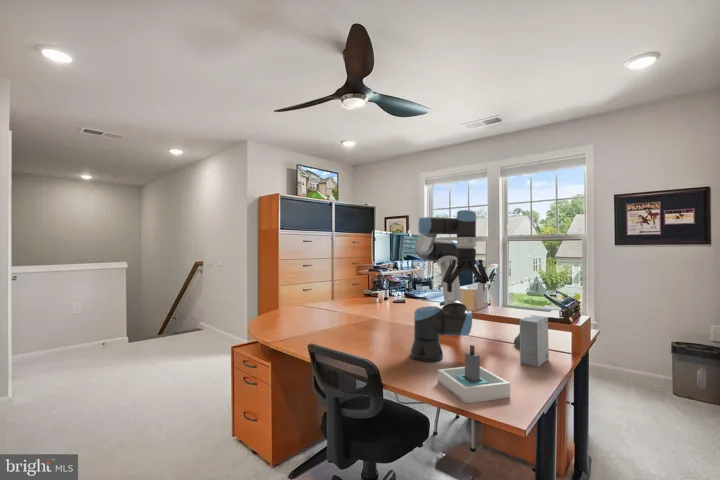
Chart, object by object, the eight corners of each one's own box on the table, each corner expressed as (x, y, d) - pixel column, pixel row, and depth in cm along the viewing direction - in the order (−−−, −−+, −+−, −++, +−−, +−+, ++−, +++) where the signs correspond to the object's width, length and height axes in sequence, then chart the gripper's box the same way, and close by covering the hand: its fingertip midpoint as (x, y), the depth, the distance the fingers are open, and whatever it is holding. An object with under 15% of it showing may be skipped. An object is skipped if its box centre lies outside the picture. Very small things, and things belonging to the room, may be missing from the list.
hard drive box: (531, 356, 162) (531, 314, 163) (549, 359, 157) (548, 317, 157) (519, 363, 151) (519, 319, 152) (537, 368, 146) (537, 321, 146)
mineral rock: (514, 343, 183) (513, 325, 183) (536, 346, 178) (536, 327, 178) (512, 350, 171) (512, 330, 171) (536, 353, 166) (536, 333, 166)
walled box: (437, 382, 129) (437, 369, 129) (478, 378, 134) (478, 365, 134) (464, 403, 112) (464, 388, 112) (510, 397, 116) (510, 383, 117)
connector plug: (464, 385, 124) (464, 344, 125) (472, 384, 125) (472, 343, 126) (471, 389, 120) (471, 347, 120) (479, 388, 121) (479, 347, 121)
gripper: (443, 247, 131) (443, 302, 130) (498, 248, 138) (498, 299, 137) (434, 247, 138) (434, 299, 138) (486, 247, 145) (486, 297, 145)
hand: (466, 299), depth 138 cm, fingers open, 13 cm apart
